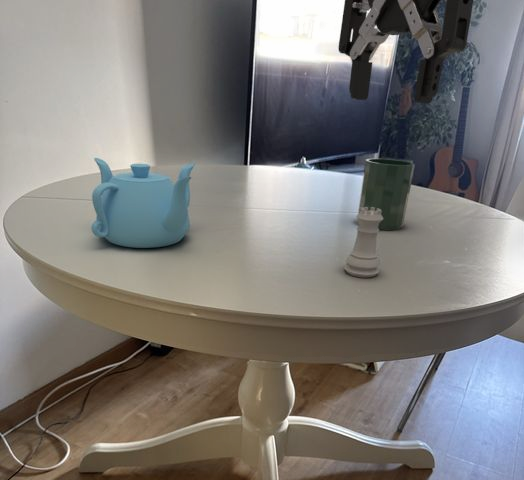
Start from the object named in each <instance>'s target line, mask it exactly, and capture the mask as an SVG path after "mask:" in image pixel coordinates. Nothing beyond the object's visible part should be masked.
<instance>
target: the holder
mask: <svg viewBox="0 0 524 480" xmlns="http://www.w3.org/2000/svg"><path fill="white" fill-rule="evenodd" d="M415 166H416V165H415V163H414V162H412V161H407V160H401V159H391V158H367V159H365V160H364V167H363V175H362V183H361V188H360V196H359V202H358V211H357V215H358V214H359V213H360V208H364V207H368V211H371V207H374V208H375V211H376V210H377V209H378V208H379V209H381V210H382V211H381V215H382V217H383V220H382V221H381V222H380V223H379V225H378V229H379V231H397V230H401V229H402V228H403V226H404V224H405V218H406V213H407V208H408V202H409V196H410V192H411V187H412V181H413V177H414V170H415ZM356 219H357V218H356ZM356 223H357V225H359V221H358V219H357V220H356Z"/></svg>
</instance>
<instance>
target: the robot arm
mask: <svg viewBox="0 0 524 480" xmlns="http://www.w3.org/2000/svg"><path fill="white" fill-rule="evenodd" d="M441 1H442V0H344V5H343V11H342V13H343V14H342V19H341V26H340V33H339V40H338V47H337V49H338V52H339V53H340V54H342V55H343V54H344V55H346V57H347V56H348V57H349V58H350V59H351V70H350V78H349V79H350V80H349V86H348V87H349V94H350V99H352V100H354V101H355V100H357V101H358V100H360V101H367V99H368V97H369V93H370V87H371V86H370V85H371V77H372V70H373V61H372V62H371V60H372V58H373V57H374V55H375V54H376V52H377V51H378V49H379V47H380V46H381V45H382V44H384V43H385V42H386V41H387V39H388V38H389V36H400V35H402V34H408V35H412V37H413V38H414V39H415V40H416V41H417V43H418V46H419V48H420V51H421V53H422V56H423V58H424V59H420V60H419V66H418V73H417V78H416V84H415V88H414V89H415V90H414V95H413V102H414V103H416V104H431V103H432V101H433V98H435V97H436V95H437V94H438V92H439V87H440V82H441V76H442V71H443V65H444V62H445V60H446V59H447V58H448V57H449V56H451V55H453V54H455V53H461V52H463V51H464V50H465V49H466V47H467V43H468V37H469V31H470V24H471V18H472V12H473V7H474V0H444V2H445V9H444V16H443V23H441V20H440V17H439V15H438V12H437V10H436V9H437V7H438V5H439V4H440V3H441Z"/></svg>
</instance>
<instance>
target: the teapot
mask: <svg viewBox="0 0 524 480" xmlns="http://www.w3.org/2000/svg"><path fill="white" fill-rule="evenodd" d="M93 159H94V162H95V163H96V164H97V167H98V169H99V172H100V181H101V182H100V184H98V185H97V186H96V187H95V188H93V191H92V195H91V201H92V206H93V209H94V211H95V214H96V217H95V221H93V223H91V233H92V234H93V235H94V236H95V237H98V238H105V239H106V240H107V241H108V242H109V243H111V244H113V245H117V246H121V247H125V248H135V249H151V248H152V249H153V248H160V247H168V246H171V245H175V244H177V243H179V242H180V241H181V240H182V239H183V238H184V237H185V236H186V234H187V233H188V231H189V229H190V227H191V221H190V217H189V210H188V208H189V206H190V203H191V202H190V201H191V190H190V180H191V179H192V177H193V176H191V173H192V170H193V169H194V167H195V165H196V163H195V162H193V163H192V162H191V163H187V164H186V165H184V166H183V167H182V168H181V170H180V171H179V174H178V179H177V180H176V182H175V183H174V182H173V181H172V180H171V178H170V177H169V176H167V175H165V174H161V173H153V172H150V169H151V165H150V164H147V163H132V164H130V165H129V167H130V169H131V171H132V172H124V173H117V174H114V175H113V172H112V170H111V168H110V166H109V164H108V163H107V162H106V161H105V160H103V159H101V158H99V157H94V158H93Z"/></svg>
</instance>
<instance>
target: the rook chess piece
mask: <svg viewBox="0 0 524 480" xmlns="http://www.w3.org/2000/svg"><path fill="white" fill-rule="evenodd" d="M381 211H382V210H381V209H379V208H378V209H377V210H376V211H375V208H374V207H371V211H368V207H364V208H360V213H359V214H358V213H357V214H356V216H355V217H356V219H358V221H359V224H358V226H357V227H356V228H355V229H356V232H357V234H356V238H355V241H354V244H353V248H352V250H351V251H350V254H349V255H348V256H347V257H346V258H345V262H346V264H344V271H346V273H347V274H348V275H350V276H352V277H357V278H365V279H369V278H373V277H376V276H377V275H378V274H379V273H380V269H379V266H380V265H381V262H380V259H379V258H378V257H379V254H378V253H377V238H378V234H379V232H380V230H379V229H378V225H379V223H380V222H381V221H382V220H383V217H382V215H381Z"/></svg>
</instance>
